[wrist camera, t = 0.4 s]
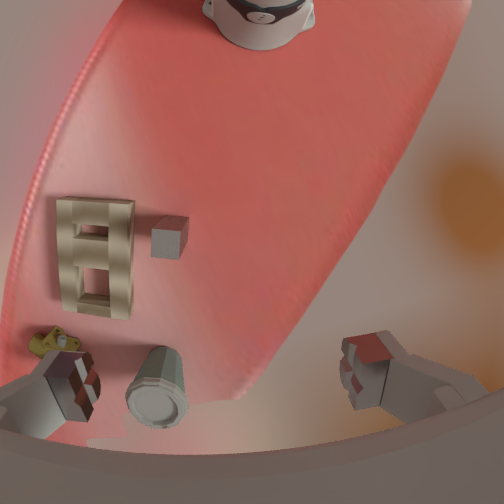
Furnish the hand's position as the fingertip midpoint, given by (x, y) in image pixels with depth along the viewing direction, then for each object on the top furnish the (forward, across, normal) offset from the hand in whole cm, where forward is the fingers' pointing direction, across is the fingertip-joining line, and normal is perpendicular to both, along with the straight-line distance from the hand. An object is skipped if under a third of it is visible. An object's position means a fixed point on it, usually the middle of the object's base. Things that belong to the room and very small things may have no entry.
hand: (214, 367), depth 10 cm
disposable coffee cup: (+45, +14, +30) cm, 56 cm away
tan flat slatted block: (+44, +23, +8) cm, 51 cm away
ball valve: (+45, +37, +27) cm, 64 cm away
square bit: (+44, +8, +5) cm, 45 cm away
